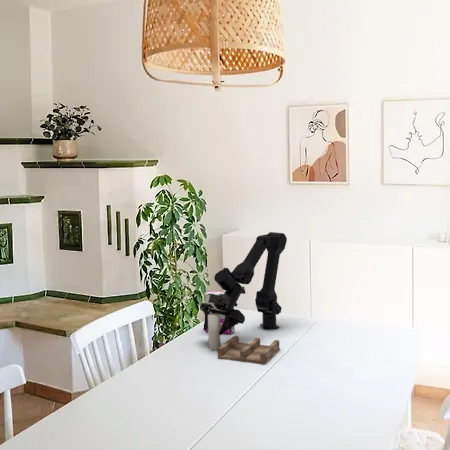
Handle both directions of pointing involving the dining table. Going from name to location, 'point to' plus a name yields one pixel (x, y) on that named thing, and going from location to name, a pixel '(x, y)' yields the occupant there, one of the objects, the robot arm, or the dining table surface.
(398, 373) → the dining table surface
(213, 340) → the rounded tapered clay block
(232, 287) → the robot arm
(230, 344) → the wooden compartment tray
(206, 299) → the candy bar box
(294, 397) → the dining table surface
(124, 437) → the dining table surface
